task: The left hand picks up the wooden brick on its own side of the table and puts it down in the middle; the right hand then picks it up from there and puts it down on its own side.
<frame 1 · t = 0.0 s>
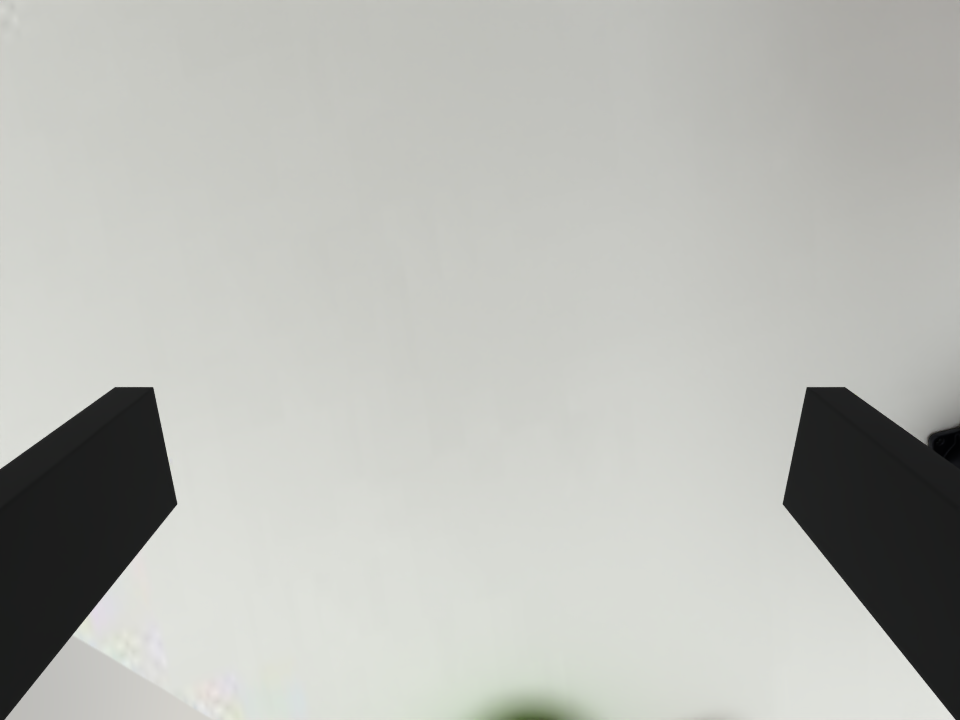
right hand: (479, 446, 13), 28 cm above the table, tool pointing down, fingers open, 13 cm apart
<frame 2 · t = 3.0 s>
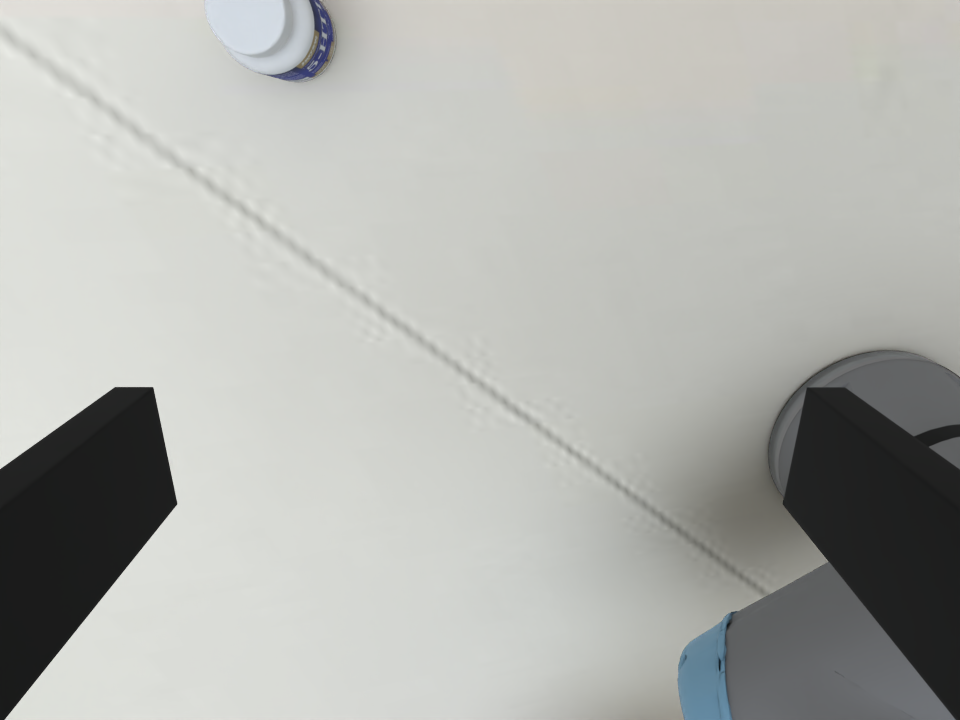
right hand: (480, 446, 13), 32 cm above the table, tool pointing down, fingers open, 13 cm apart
pill bottle: (296, 36, 39), on the table
when the left hand's fingers open (2 cm above the table, at t = 7.2 s): brick stays where it is, point 2 cm above the table.
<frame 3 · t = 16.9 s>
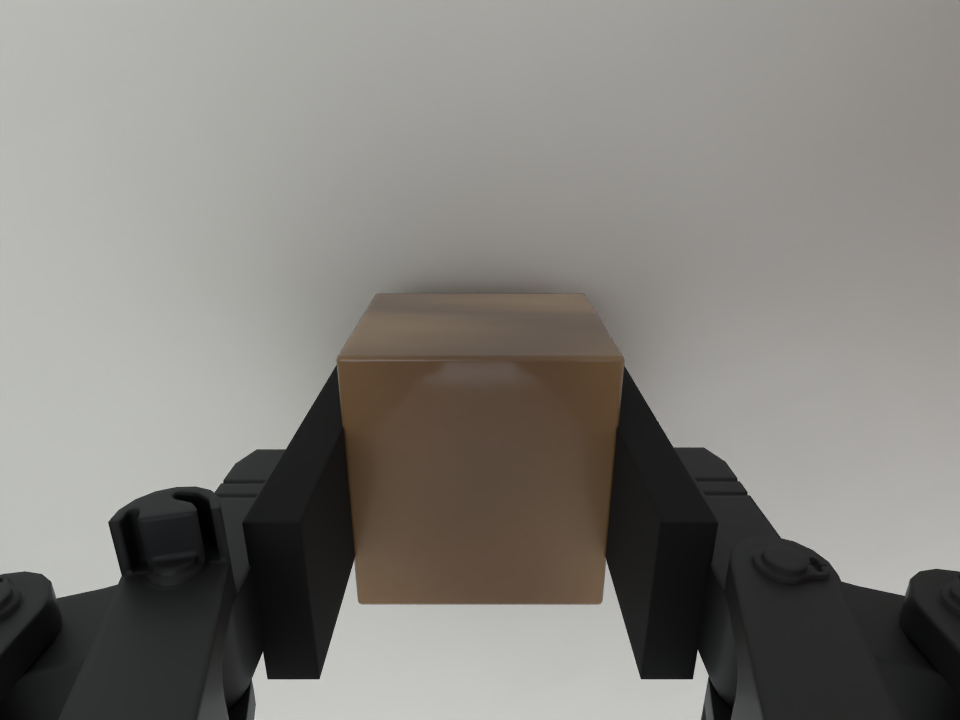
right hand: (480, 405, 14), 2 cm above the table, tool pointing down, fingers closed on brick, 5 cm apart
brick: (480, 396, 15), point 2 cm above the table, touching right hand
when the right hand's fingers open (0 cm above the table, at t = 24.5 s): brick stays where it is, on the table.
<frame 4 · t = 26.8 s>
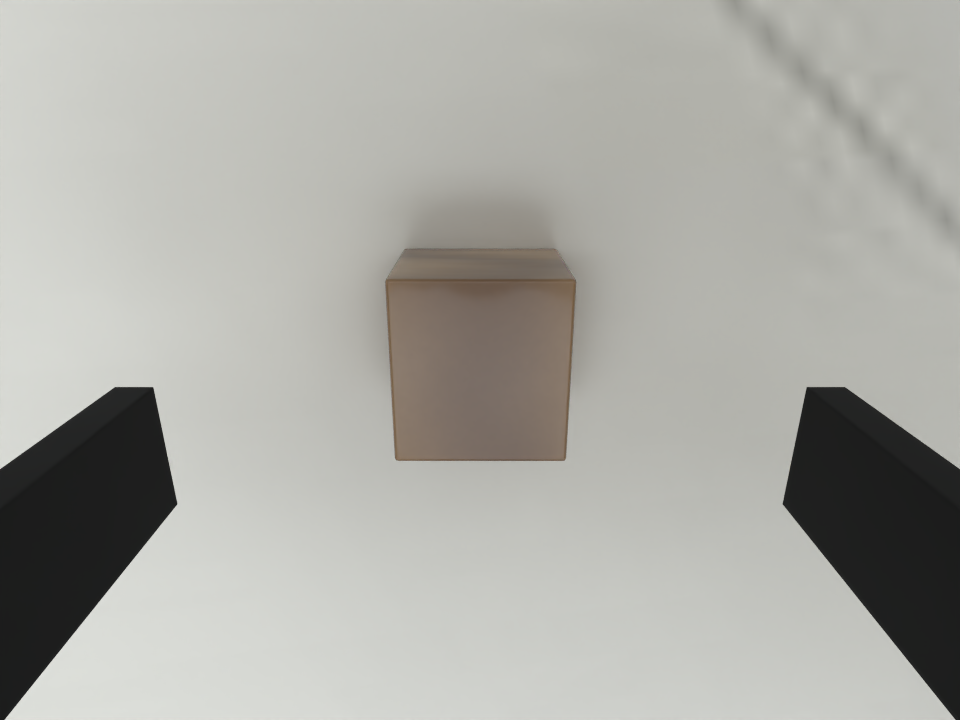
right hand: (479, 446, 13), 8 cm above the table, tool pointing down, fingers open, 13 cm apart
brick: (480, 327, 20), on the table
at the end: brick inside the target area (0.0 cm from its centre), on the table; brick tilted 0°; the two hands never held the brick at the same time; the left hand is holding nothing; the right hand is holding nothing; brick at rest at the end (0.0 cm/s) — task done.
